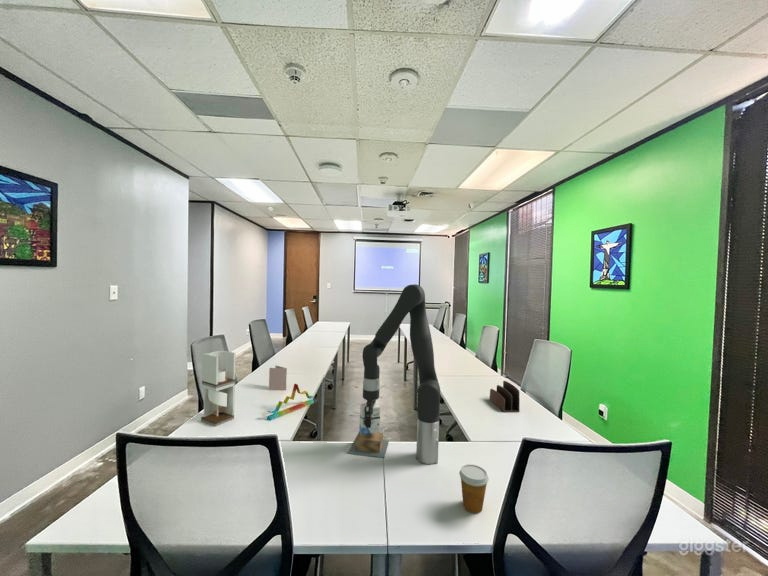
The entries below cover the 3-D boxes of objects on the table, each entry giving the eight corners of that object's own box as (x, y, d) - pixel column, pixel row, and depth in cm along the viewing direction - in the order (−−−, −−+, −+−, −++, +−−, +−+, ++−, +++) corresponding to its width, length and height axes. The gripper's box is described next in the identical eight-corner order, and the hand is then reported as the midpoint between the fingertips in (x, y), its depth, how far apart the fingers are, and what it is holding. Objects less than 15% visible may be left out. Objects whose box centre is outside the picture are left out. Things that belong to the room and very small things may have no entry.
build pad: (388, 441, 146) (388, 440, 146) (384, 458, 132) (384, 457, 132) (355, 437, 149) (355, 437, 149) (347, 453, 135) (347, 452, 135)
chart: (270, 421, 164) (271, 393, 164) (267, 419, 166) (267, 391, 166) (313, 403, 189) (314, 379, 189) (310, 402, 191) (311, 378, 191)
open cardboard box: (382, 443, 144) (382, 432, 144) (379, 452, 136) (379, 441, 136) (359, 440, 146) (359, 430, 145) (355, 449, 138) (355, 438, 138)
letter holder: (503, 400, 205) (504, 378, 205) (519, 412, 186) (520, 389, 185) (489, 400, 204) (490, 378, 204) (503, 412, 185) (504, 389, 184)
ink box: (361, 434, 137) (362, 408, 137) (359, 429, 142) (360, 403, 142) (380, 432, 139) (380, 406, 139) (377, 427, 144) (378, 402, 144)
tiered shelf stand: (201, 421, 161) (202, 353, 160) (220, 413, 170) (221, 350, 170) (215, 426, 155) (216, 357, 155) (234, 418, 165) (235, 353, 164)
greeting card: (287, 390, 210) (287, 367, 210) (278, 393, 204) (278, 370, 204) (275, 386, 216) (276, 365, 216) (266, 389, 210) (267, 367, 210)
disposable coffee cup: (481, 497, 110) (482, 463, 110) (491, 517, 101) (493, 480, 101) (455, 496, 110) (456, 463, 110) (462, 517, 100) (464, 480, 100)
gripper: (376, 393, 132) (375, 432, 133) (382, 383, 147) (380, 418, 147) (359, 392, 134) (358, 430, 134) (366, 381, 148) (365, 416, 148)
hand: (369, 423), depth 140 cm, fingers closed on ink box, 6 cm apart
